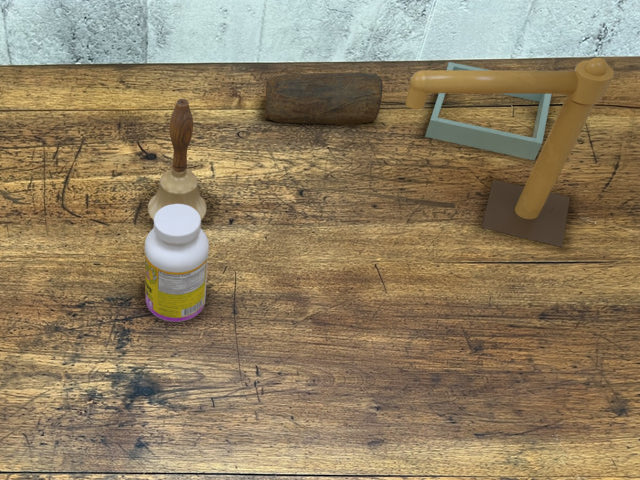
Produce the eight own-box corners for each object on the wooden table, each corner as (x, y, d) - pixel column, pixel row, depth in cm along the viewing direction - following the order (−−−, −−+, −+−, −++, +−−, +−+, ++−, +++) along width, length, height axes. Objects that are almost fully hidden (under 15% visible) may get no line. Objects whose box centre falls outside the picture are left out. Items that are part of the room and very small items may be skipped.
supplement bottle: (151, 279, 94) (151, 192, 83) (208, 287, 93) (215, 200, 83) (140, 323, 90) (138, 237, 80) (199, 331, 89) (205, 246, 79)
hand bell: (218, 198, 102) (227, 84, 89) (201, 243, 97) (208, 130, 84) (154, 186, 103) (154, 73, 90) (134, 230, 99) (131, 117, 86)
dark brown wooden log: (368, 102, 112) (379, 57, 107) (377, 134, 108) (389, 89, 103) (259, 104, 113) (264, 60, 107) (264, 136, 109) (269, 92, 103)
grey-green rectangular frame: (543, 105, 111) (553, 82, 108) (531, 166, 104) (542, 143, 101) (441, 85, 114) (449, 61, 111) (422, 142, 107) (430, 119, 104)
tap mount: (566, 204, 99) (631, 81, 86) (558, 253, 95) (626, 132, 81) (489, 186, 102) (541, 64, 88) (478, 234, 97) (531, 112, 83)
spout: (591, 94, 86) (613, 48, 82) (601, 115, 84) (624, 69, 80) (401, 93, 87) (414, 48, 83) (406, 114, 85) (420, 69, 81)
